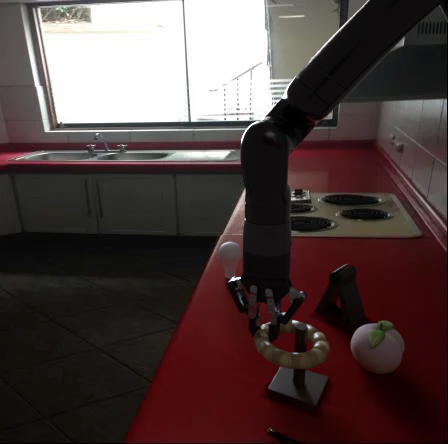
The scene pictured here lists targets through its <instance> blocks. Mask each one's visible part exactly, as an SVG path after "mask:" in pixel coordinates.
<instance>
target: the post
mask: <svg viewBox="0 0 448 444" xmlns="http://www.w3.org/2000/svg"><path fill="white" fill-rule="evenodd" d="M307 337H308V326H307V325H305V324H301V323H299V324H296V325H295V335H294V341H293V353H304V352H307V351H308V340H307ZM328 381H329V376H328V375H324V374H320V373H317V372H314V371H311V370H309V369H288V368H285V367H282V366H279V368H278V371H277V372H276V373H275V375H274V376H273V379H272V381H270V382H271V383H270V384H269V386H268V387H267V396H268V397H269V398H272V399H275V400H278V401H281V402H284V403H286V404H289V405H292V406H295V407H298V408H300V409H303V410H306V411H308V412H311V413H314V414H317V412H318V410H319V407H320V404H321V402H322V400H321V398H322V395H323V393H324V391H325V389H326V385H327V384H328Z"/></svg>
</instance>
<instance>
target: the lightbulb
mask: <svg viewBox="0 0 448 444" xmlns="http://www.w3.org/2000/svg"><path fill="white" fill-rule="evenodd" d="M242 257H243V250H242V248H241V246H240V245H239V244H238V243H236V242H234V241H226V242H224V243H222V244H221V245H220V247H219V248H218V258H219V261H221V263H222V266H223V271H224V275H225V276H224V277H225V278H226V279H230V280H231V279H232V278H233V277H236V272H237V267H238V264H239V262H240V261H241V259H242Z"/></svg>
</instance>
